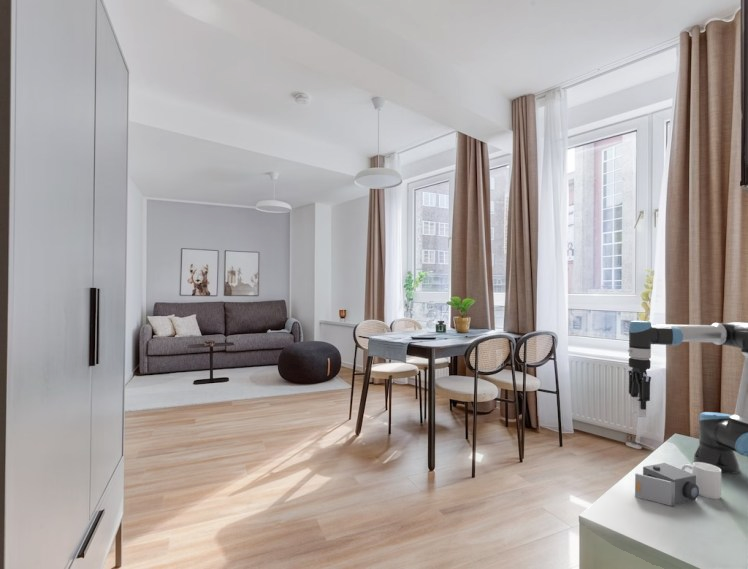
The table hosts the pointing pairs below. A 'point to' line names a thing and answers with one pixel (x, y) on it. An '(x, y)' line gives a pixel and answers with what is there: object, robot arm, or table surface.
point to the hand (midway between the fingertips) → (638, 414)
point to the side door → (655, 489)
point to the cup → (706, 479)
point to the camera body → (683, 481)
